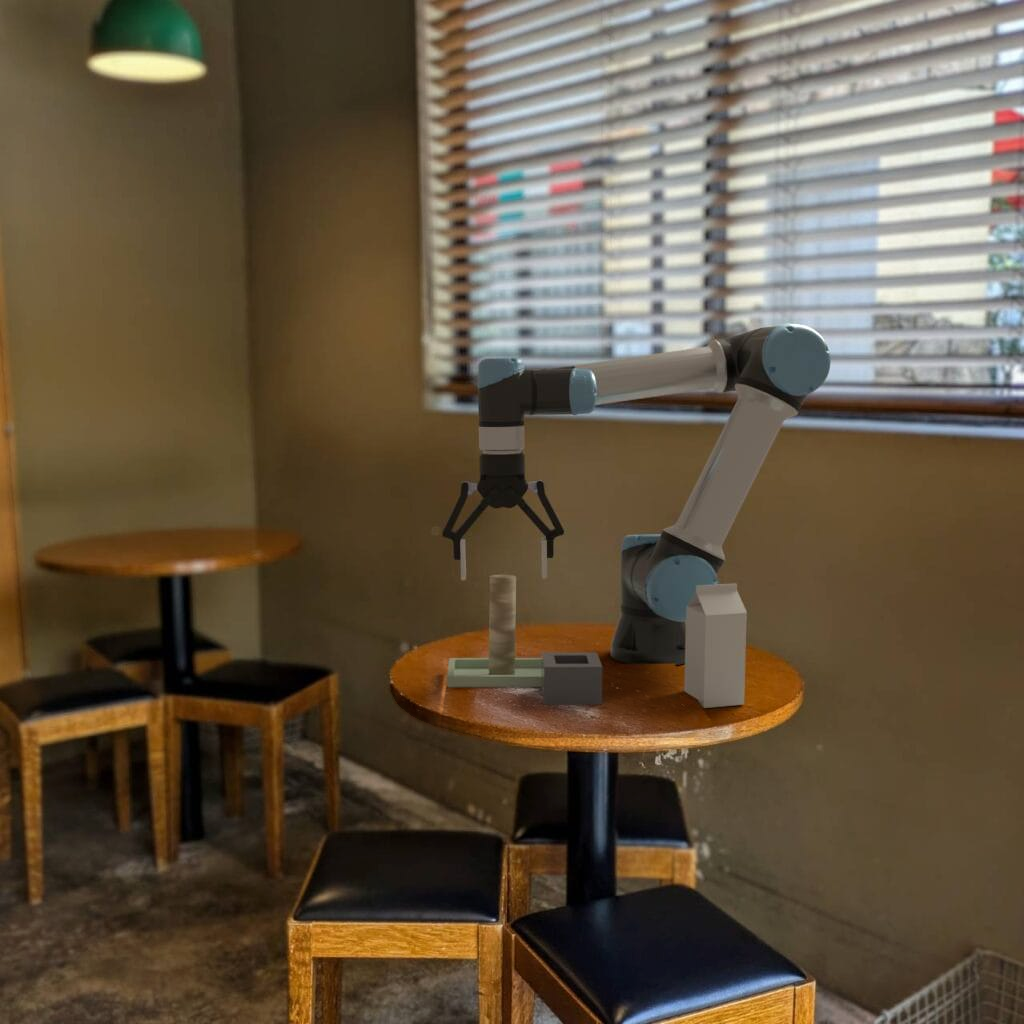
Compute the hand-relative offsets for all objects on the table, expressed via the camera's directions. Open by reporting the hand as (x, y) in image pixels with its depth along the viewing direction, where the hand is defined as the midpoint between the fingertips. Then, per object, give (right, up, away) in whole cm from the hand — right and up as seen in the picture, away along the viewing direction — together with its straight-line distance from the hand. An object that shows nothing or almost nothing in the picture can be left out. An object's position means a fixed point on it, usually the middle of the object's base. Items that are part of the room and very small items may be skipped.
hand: (504, 578), depth 185 cm
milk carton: (+34, -19, -8) cm, 40 cm away
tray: (0, -18, +2) cm, 18 cm away
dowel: (0, -17, +2) cm, 17 cm away
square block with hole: (+11, -19, -9) cm, 24 cm away
